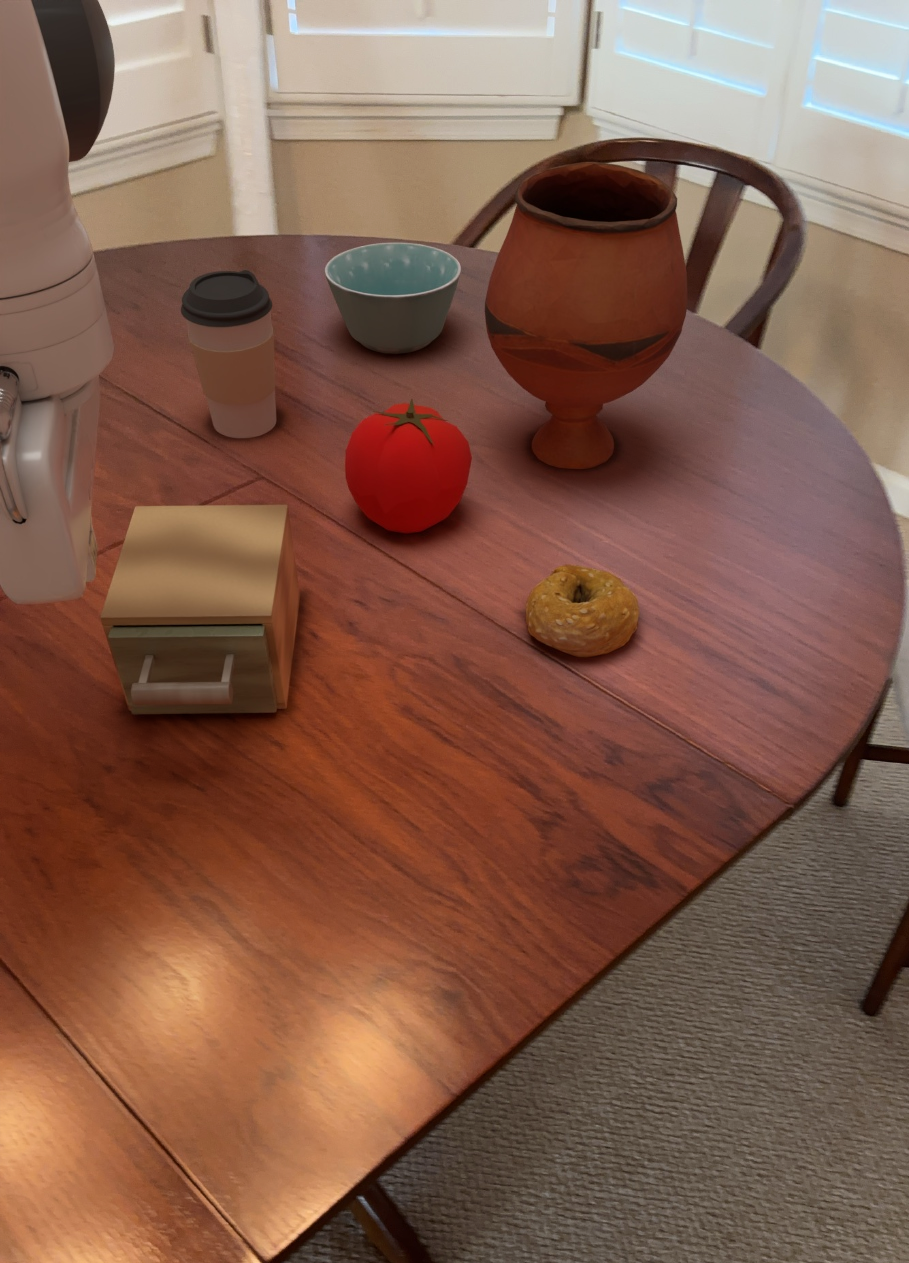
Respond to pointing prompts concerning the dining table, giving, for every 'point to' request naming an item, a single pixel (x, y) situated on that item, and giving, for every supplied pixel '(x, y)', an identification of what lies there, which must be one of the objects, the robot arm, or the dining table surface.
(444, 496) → the tomato
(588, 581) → the bagel
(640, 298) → the goblet
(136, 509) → the cabinet
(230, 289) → the coffee cup
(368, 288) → the bowl
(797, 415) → the dining table surface
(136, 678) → the tray drawer
